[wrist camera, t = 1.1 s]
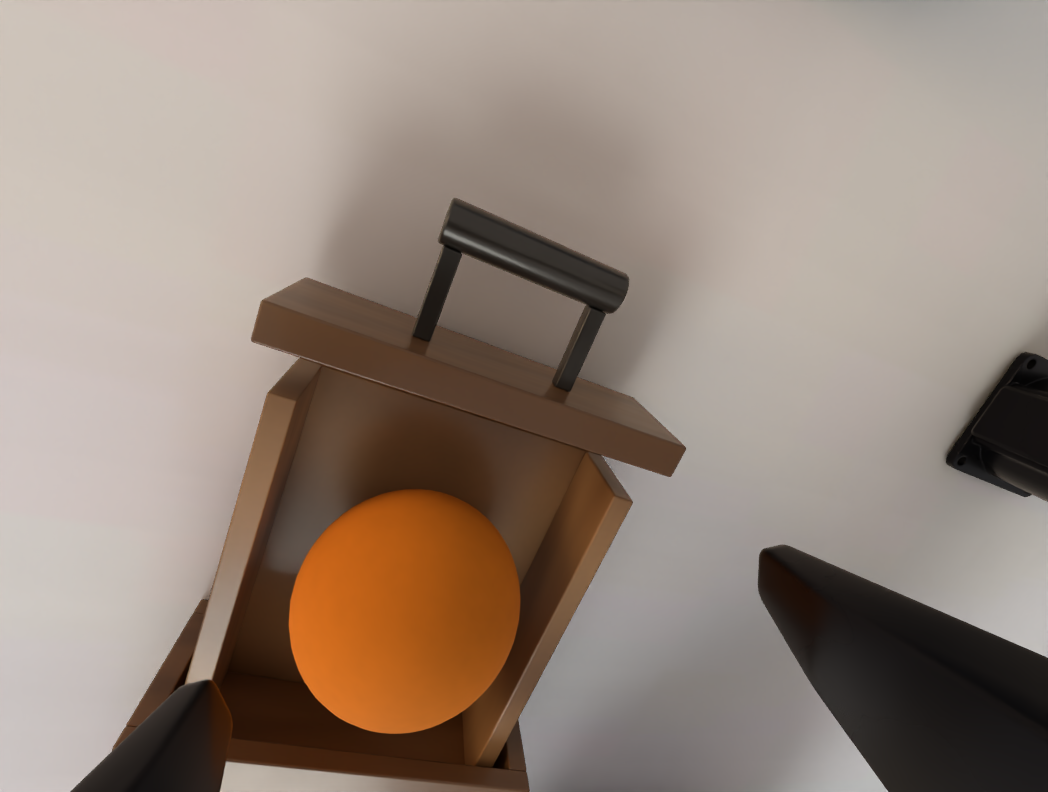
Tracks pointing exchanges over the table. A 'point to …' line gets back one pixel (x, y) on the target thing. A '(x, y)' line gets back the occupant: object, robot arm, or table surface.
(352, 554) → the orange
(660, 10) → the table surface
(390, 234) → the table surface
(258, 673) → the drawer
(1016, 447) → the robot arm
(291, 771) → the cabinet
